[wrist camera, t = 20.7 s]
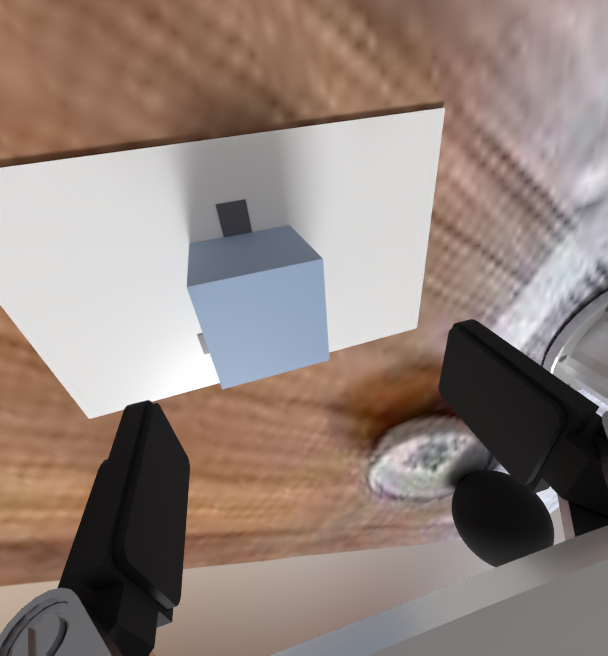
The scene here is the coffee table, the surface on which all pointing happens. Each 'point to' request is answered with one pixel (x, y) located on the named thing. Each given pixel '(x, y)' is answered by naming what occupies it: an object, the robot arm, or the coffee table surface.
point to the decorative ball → (500, 518)
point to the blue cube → (259, 303)
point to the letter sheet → (201, 225)
